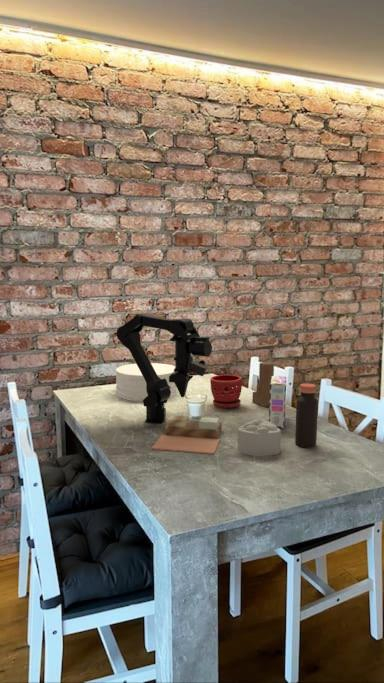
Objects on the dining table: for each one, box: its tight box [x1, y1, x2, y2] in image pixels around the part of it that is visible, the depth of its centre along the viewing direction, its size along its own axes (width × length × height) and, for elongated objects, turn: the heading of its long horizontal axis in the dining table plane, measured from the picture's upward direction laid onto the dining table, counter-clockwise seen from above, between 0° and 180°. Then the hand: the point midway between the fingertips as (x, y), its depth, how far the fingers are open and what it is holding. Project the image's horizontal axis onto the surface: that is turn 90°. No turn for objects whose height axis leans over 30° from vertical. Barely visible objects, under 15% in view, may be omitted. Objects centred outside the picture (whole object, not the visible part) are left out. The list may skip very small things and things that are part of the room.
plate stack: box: [115, 362, 179, 402], centre depth 229 cm, size 28×28×12 cm
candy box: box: [268, 375, 287, 429], centre depth 187 cm, size 14×6×16 cm, turn 168°
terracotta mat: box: [151, 434, 221, 455], centre depth 164 cm, size 20×12×1 cm, turn 78°
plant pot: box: [209, 374, 243, 409], centre depth 210 cm, size 13×13×12 cm
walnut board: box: [164, 419, 223, 439], centre depth 175 cm, size 18×10×3 cm, turn 78°
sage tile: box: [198, 416, 220, 430], centre depth 172 cm, size 6×5×2 cm
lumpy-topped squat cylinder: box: [237, 419, 282, 457], centre depth 159 cm, size 10×13×9 cm
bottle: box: [294, 383, 319, 449], centre depth 163 cm, size 7×7×20 cm
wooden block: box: [251, 361, 275, 408], centre depth 211 cm, size 9×4×18 cm, turn 27°
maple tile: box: [167, 414, 189, 428], centre depth 175 cm, size 6×5×2 cm
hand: (183, 396), depth 181 cm, fingers closed
